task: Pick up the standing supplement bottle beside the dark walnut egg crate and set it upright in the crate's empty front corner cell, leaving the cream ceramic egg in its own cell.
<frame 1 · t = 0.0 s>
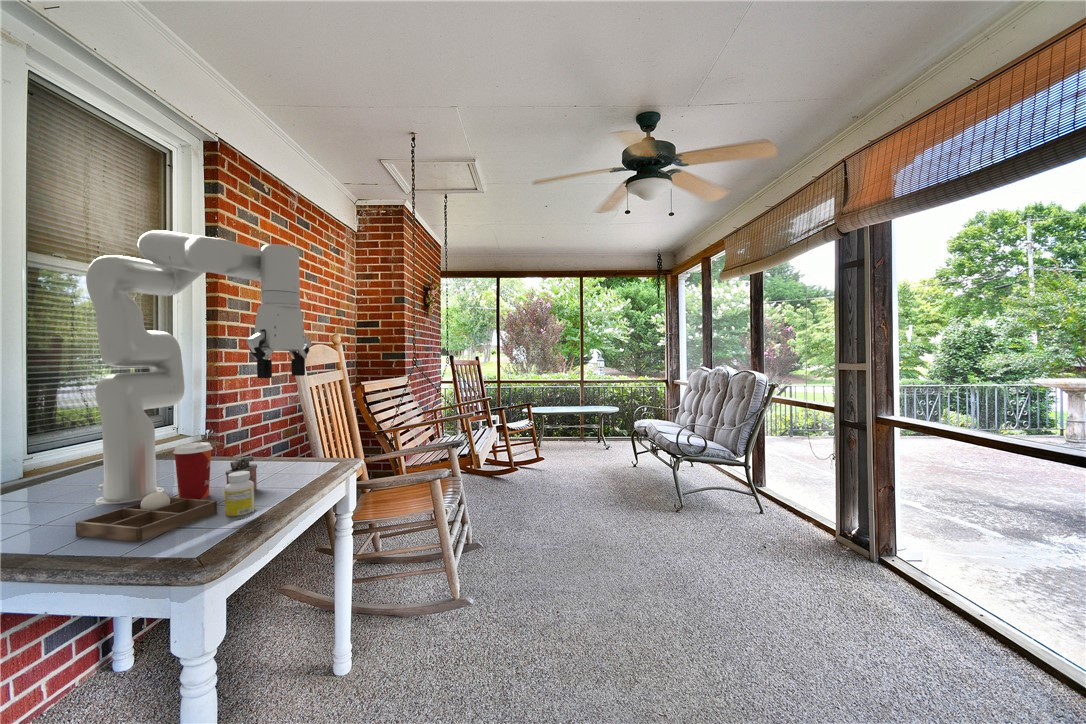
hand: (282, 376, 100), 31 cm above the table, tool pointing down, fingers open, 9 cm apart
lighter: (242, 498, 112), on the table
paper cup: (194, 502, 109), on the table
ceramic egg: (155, 514, 97), point 1 cm above the table, touching egg crate
supplement bottle: (240, 517, 99), on the table
egg crate: (151, 527, 93), on the table
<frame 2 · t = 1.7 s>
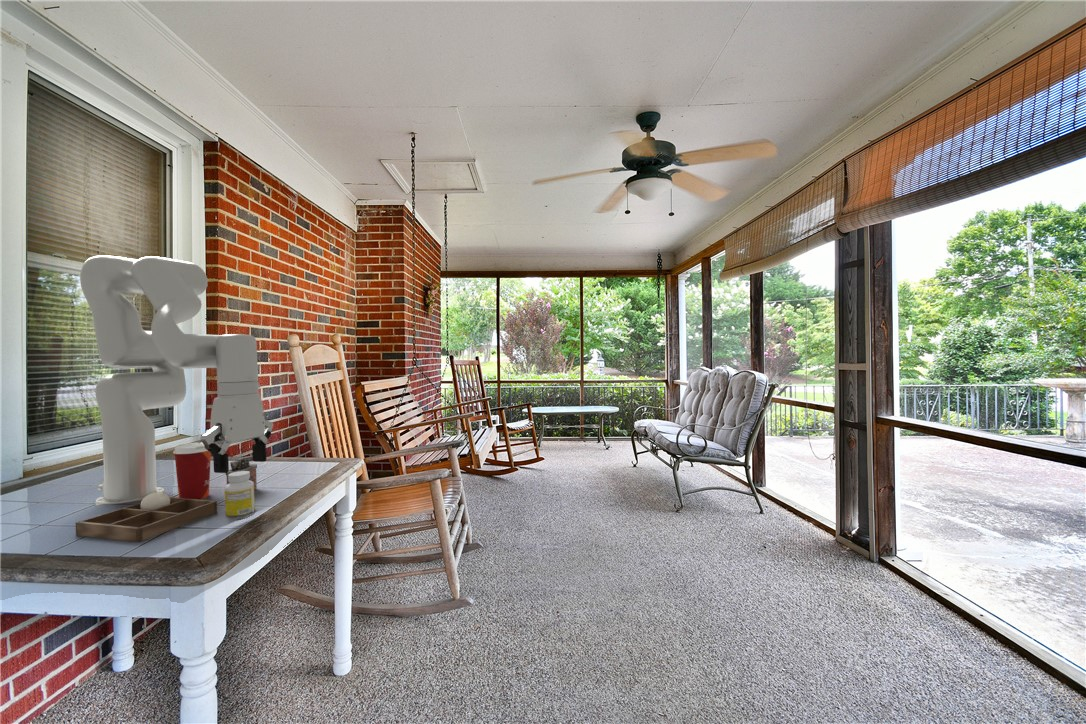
hand: (241, 466, 98), 11 cm above the table, tool pointing down, fingers open, 9 cm apart
nothing on the table moved.
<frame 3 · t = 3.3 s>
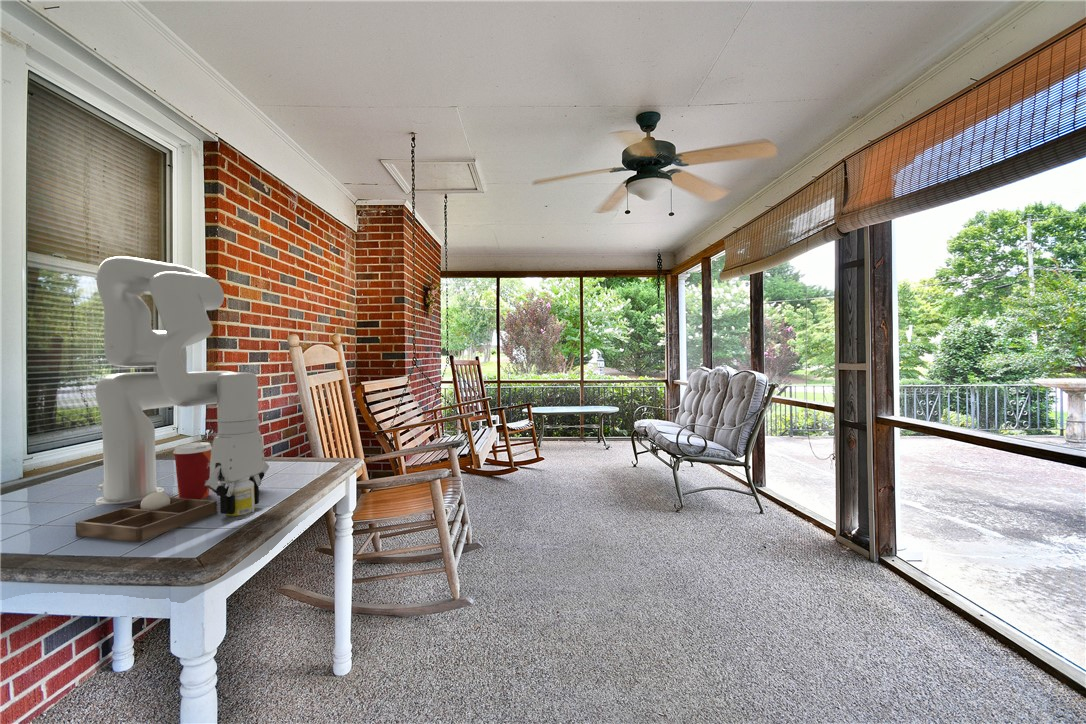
hand: (240, 507, 99), 2 cm above the table, tool pointing down, fingers closed on supplement bottle, 5 cm apart
supplement bottle: (240, 517, 99), on the table, touching gripper
everything else where it was.
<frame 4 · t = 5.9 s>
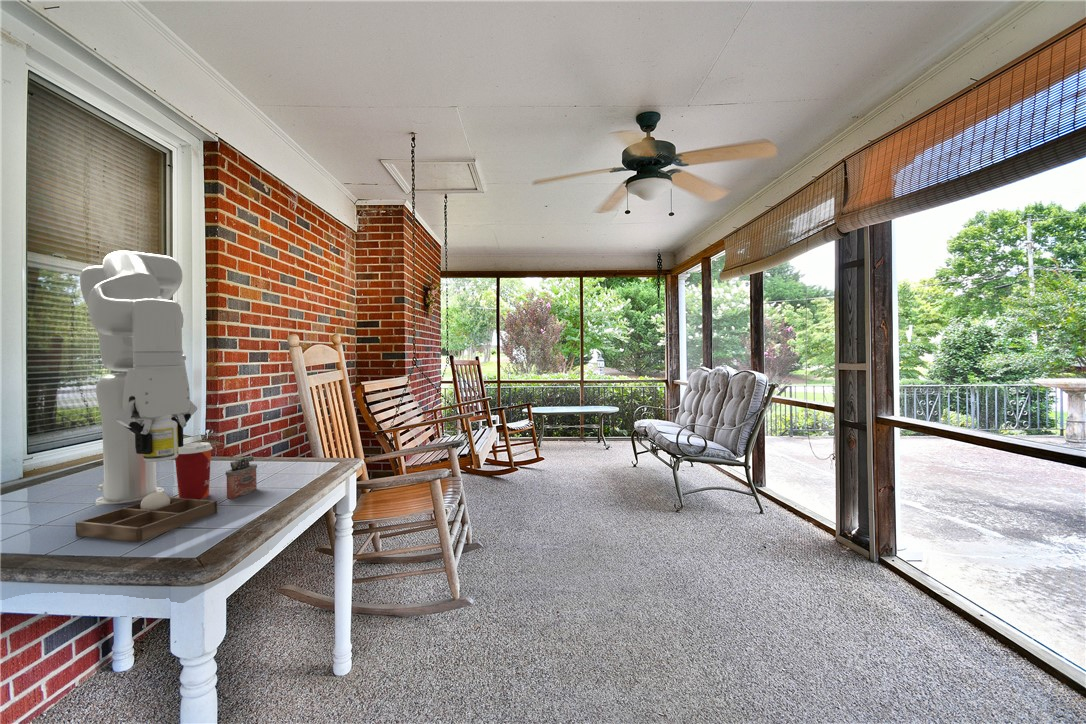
hand: (160, 449, 90), 17 cm above the table, tool pointing down, fingers closed on supplement bottle, 5 cm apart
supplement bottle: (161, 460, 90), point 15 cm above the table, touching gripper
everything else where it was.
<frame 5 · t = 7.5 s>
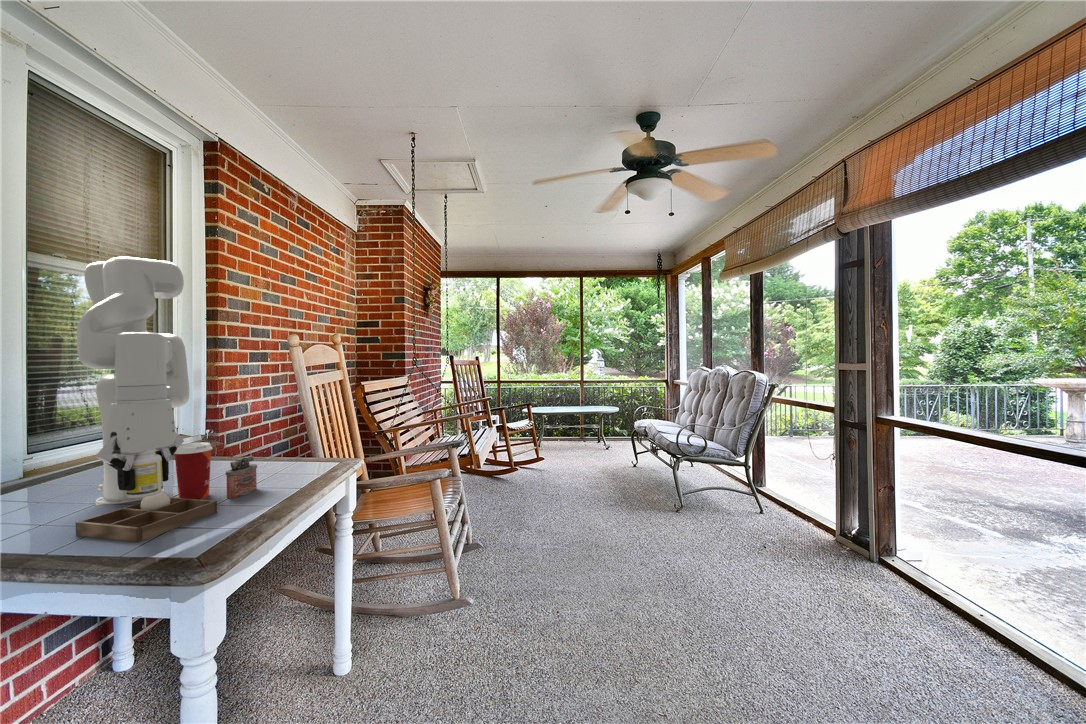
hand: (144, 484, 88), 11 cm above the table, tool pointing down, fingers closed on supplement bottle, 5 cm apart
supplement bottle: (144, 495, 88), point 8 cm above the table, touching gripper
everything else where it was.
when the fingers open (5 cm above the table, at t = 9.0 s): supplement bottle drops 2 cm, resting on egg crate.
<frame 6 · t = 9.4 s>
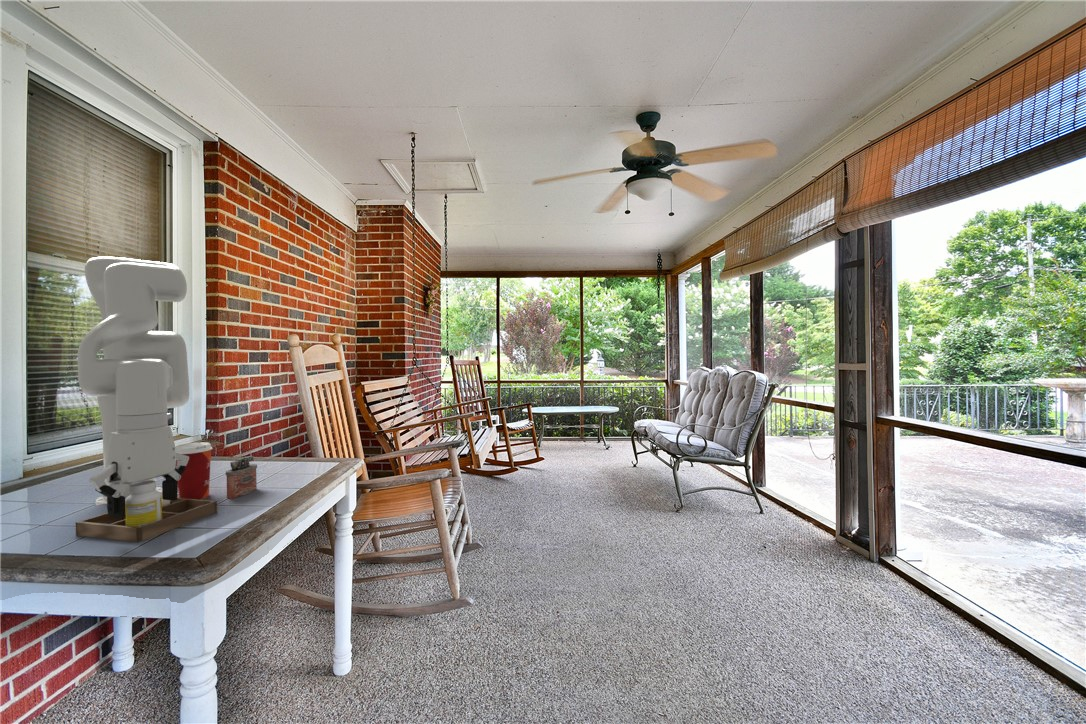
hand: (145, 507, 88), 6 cm above the table, tool pointing down, fingers open, 9 cm apart
supplement bottle: (144, 532, 88), point 1 cm above the table, touching egg crate
everything else where it was.
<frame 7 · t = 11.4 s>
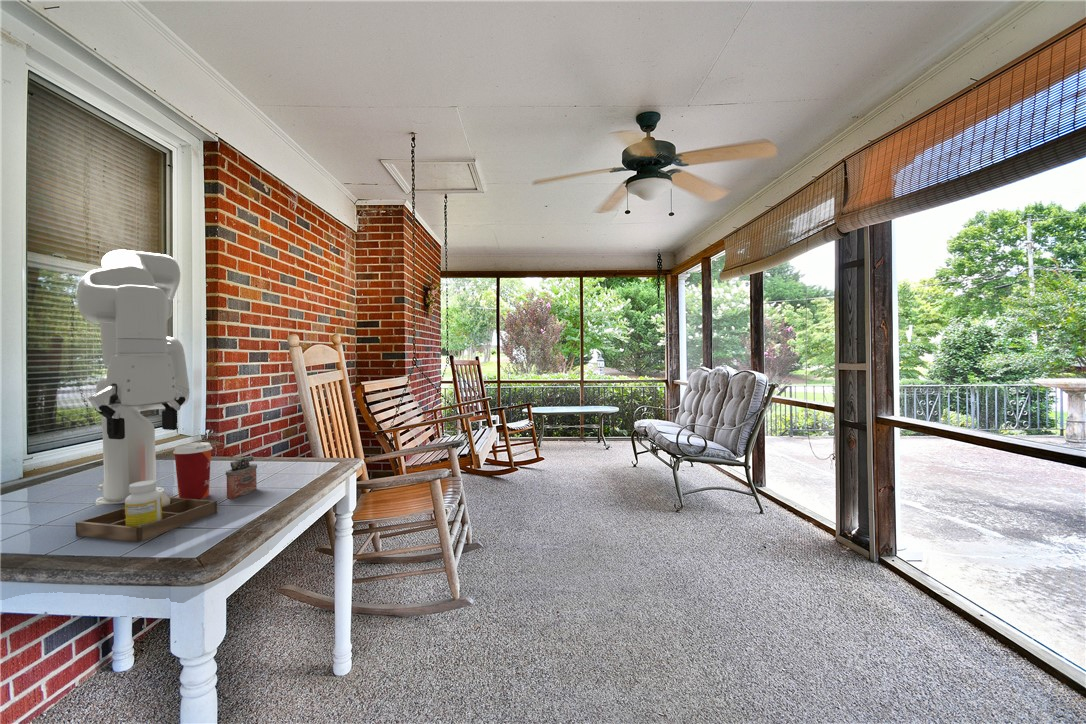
hand: (144, 433, 88), 21 cm above the table, tool pointing down, fingers open, 9 cm apart
nothing on the table moved.
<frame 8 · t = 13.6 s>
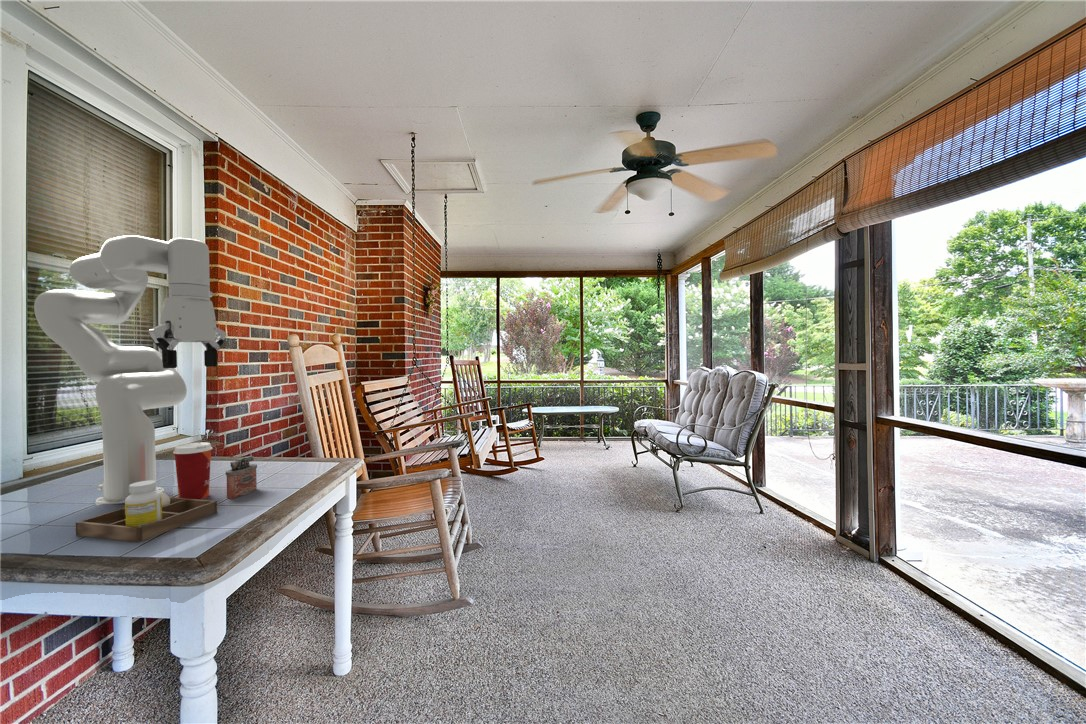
hand: (191, 367, 103), 33 cm above the table, tool pointing down, fingers open, 9 cm apart
nothing on the table moved.
at the end: supplement bottle 0.1 cm from the target spot on the egg crate, point 0.8 cm above the egg crate's base; supplement bottle tilted 0°; the gripper is holding nothing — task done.
